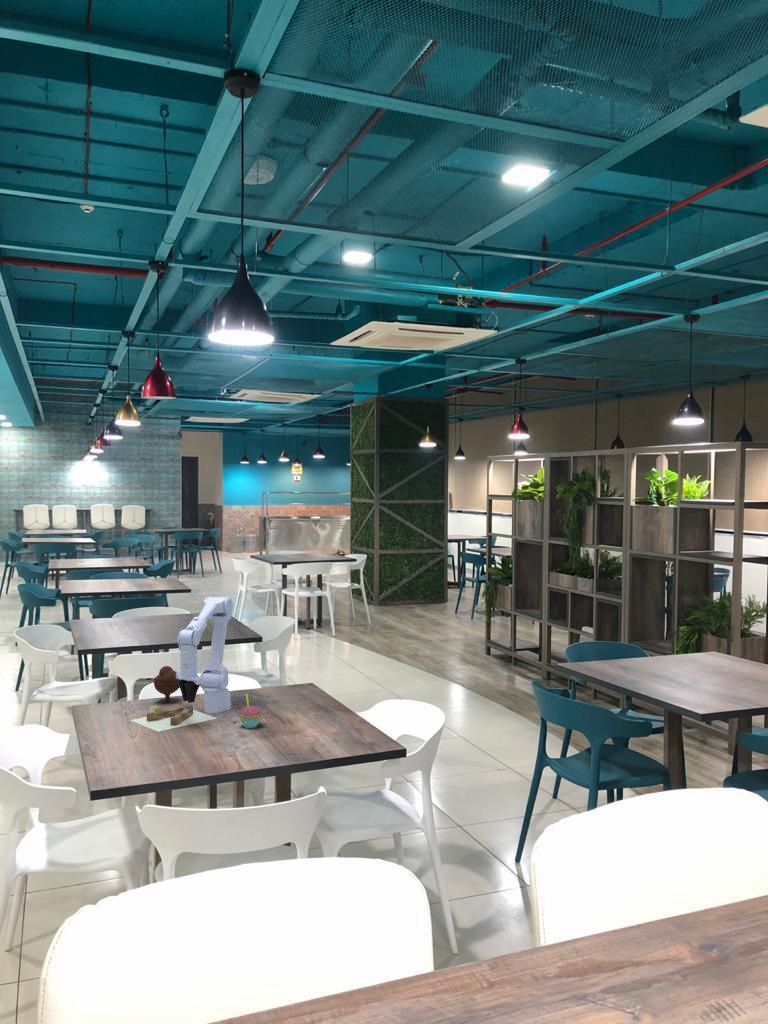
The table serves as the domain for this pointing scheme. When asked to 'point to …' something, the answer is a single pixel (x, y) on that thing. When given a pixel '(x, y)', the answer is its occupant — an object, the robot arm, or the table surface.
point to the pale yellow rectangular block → (155, 709)
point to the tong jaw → (181, 716)
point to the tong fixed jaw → (167, 713)
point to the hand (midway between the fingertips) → (188, 701)
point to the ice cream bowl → (166, 682)
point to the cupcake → (250, 715)
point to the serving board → (165, 725)
